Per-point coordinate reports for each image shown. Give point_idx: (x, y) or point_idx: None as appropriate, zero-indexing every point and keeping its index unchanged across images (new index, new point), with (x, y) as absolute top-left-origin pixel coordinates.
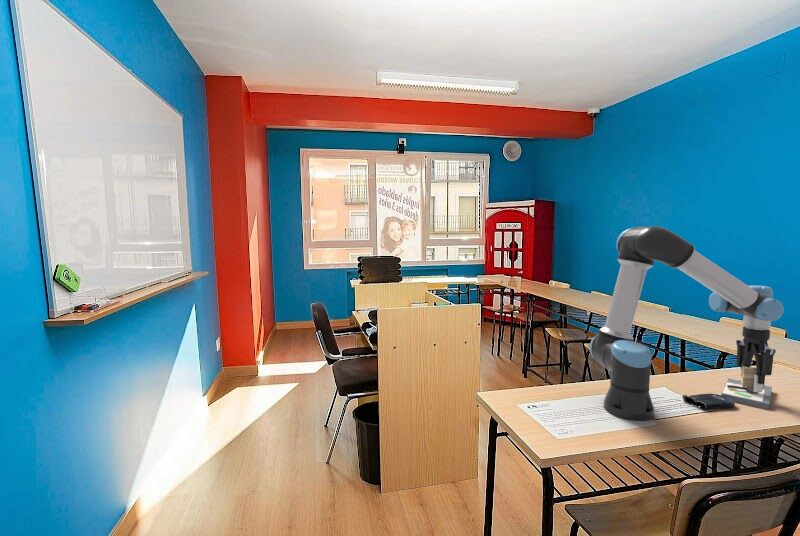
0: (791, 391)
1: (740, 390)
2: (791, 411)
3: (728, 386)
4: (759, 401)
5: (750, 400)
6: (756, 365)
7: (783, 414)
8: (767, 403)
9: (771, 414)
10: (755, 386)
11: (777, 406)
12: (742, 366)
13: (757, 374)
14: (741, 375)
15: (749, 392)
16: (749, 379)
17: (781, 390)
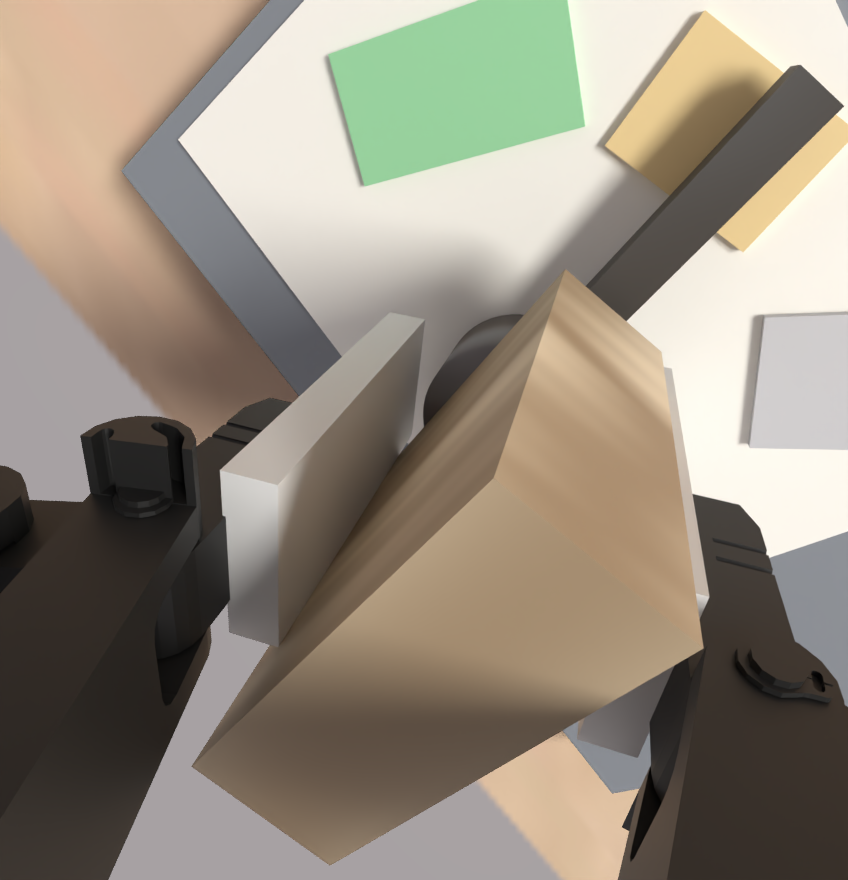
0: (565, 867)
1: None
2: (146, 377)
3: (787, 80)
4: (199, 110)
5: (264, 12)
6: (23, 724)
7: (59, 197)
8: (138, 164)
9: (35, 26)
10: (356, 347)
11: (263, 377)
12: (699, 641)
13: (117, 430)
14: (750, 523)
15: (504, 317)
16: (466, 409)
17: (611, 836)
